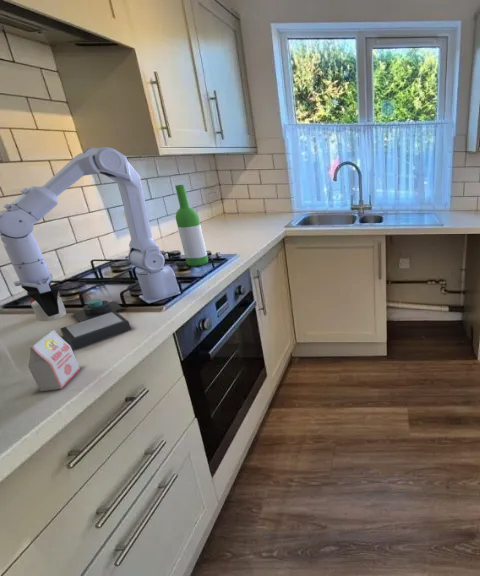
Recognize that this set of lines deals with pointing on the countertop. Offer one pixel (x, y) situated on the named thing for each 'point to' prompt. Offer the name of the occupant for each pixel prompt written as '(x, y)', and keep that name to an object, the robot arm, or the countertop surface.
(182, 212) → the wine bottle
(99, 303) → the button
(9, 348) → the countertop surface
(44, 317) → the cup
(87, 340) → the scale
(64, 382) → the printed snack carton
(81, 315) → the pad
